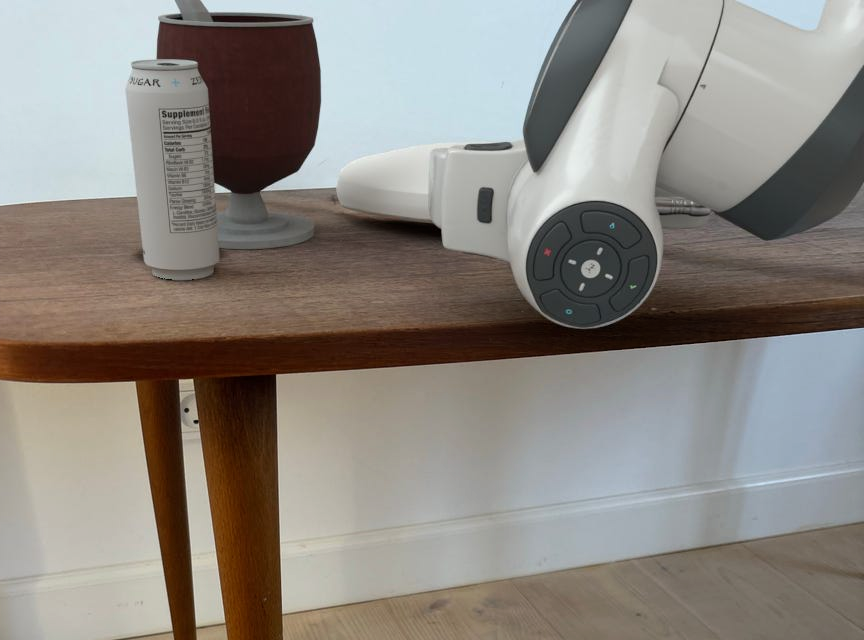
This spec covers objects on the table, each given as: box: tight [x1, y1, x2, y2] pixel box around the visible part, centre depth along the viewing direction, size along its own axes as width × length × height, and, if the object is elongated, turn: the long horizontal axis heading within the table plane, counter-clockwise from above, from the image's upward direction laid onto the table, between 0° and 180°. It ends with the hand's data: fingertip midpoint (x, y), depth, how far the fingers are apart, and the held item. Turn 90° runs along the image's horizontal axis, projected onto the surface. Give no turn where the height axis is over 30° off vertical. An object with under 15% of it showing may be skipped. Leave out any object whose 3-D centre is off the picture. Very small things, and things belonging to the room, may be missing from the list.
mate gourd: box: [156, 0, 322, 250], centre depth 92 cm, size 16×14×20 cm
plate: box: [335, 141, 500, 224], centre depth 103 cm, size 28×6×27 cm
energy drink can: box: [124, 59, 221, 281], centre depth 81 cm, size 6×6×15 cm
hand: (564, 166), depth 81 cm, fingers closed on dish wand, 3 cm apart
